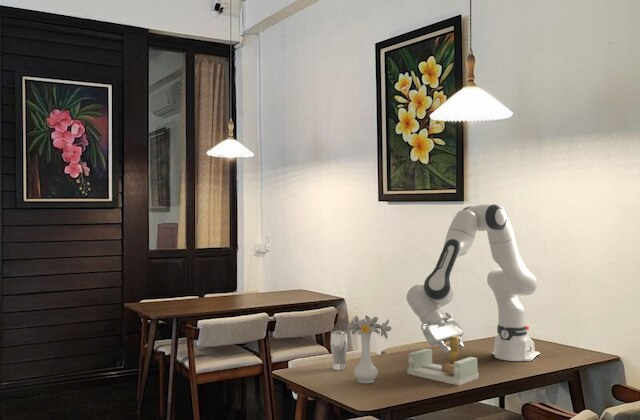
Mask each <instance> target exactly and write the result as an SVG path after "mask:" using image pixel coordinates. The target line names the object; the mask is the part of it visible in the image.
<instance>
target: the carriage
mask: <svg viewBox="0 0 640 420" xmlns="http://www.w3.org/2000/svg"><path fill="white" fill-rule="evenodd" d="M449 347H450V349H451V351H450V352H449V356H450V357H449V361H446V362H444V363H441V365H442V372H445V373H449V374H454V372H453V369H454V362H456V361H459V360H460V359H459V356H460V355H459V349H460V348H459V337H456V336H451V337H450V341H449Z"/></svg>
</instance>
